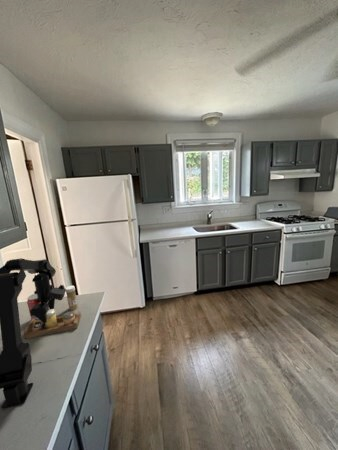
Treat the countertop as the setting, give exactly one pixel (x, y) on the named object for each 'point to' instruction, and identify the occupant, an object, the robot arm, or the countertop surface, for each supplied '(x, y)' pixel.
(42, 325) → the pusher
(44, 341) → the countertop surface
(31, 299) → the soda can
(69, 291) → the sprinkles bottle
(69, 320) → the spice jar
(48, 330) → the wooden tray
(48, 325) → the mustard jar
